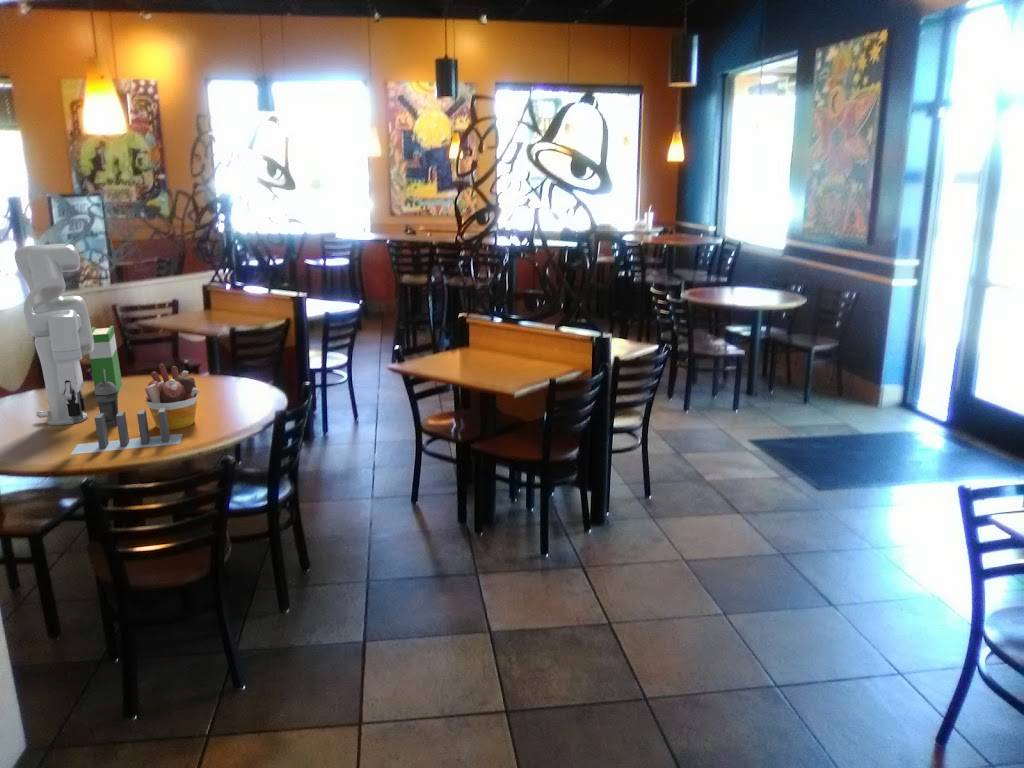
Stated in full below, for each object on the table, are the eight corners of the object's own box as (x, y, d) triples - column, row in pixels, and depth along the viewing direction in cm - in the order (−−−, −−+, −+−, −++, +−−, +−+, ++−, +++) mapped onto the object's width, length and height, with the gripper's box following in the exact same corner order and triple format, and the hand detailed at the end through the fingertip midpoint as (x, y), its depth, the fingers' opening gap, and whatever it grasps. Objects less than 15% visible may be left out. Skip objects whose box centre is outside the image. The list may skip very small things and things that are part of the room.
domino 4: (141, 444, 255) (137, 414, 252) (143, 439, 259) (139, 409, 257) (147, 444, 255) (143, 413, 252) (149, 439, 260) (145, 409, 257)
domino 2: (99, 449, 251) (94, 418, 249) (102, 444, 256) (97, 413, 253) (105, 448, 252) (100, 417, 249) (108, 443, 257) (104, 412, 254)
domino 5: (162, 442, 256) (157, 412, 254) (164, 437, 261) (159, 407, 258) (168, 442, 257) (164, 411, 254) (170, 437, 261) (166, 407, 259)
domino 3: (120, 447, 253) (115, 416, 250) (123, 441, 258) (118, 411, 255) (126, 446, 254) (122, 415, 251) (129, 441, 258) (124, 411, 256)
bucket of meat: (208, 428, 271) (201, 370, 266) (155, 438, 262) (147, 378, 257) (193, 414, 287) (186, 359, 282) (143, 422, 279) (135, 366, 273)
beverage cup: (116, 421, 281) (108, 364, 276) (127, 425, 276) (118, 367, 271) (95, 426, 276) (86, 369, 270) (105, 430, 271) (96, 372, 266)
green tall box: (101, 386, 327) (92, 327, 321) (122, 384, 329) (113, 325, 323) (96, 397, 311) (86, 335, 305) (117, 395, 313) (108, 333, 307)
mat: (70, 456, 247) (70, 454, 247) (77, 445, 257) (77, 444, 256) (179, 445, 255) (179, 443, 255) (183, 435, 265) (182, 433, 265)
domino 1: (73, 423, 247) (67, 391, 245) (77, 418, 252) (71, 387, 249) (79, 422, 248) (74, 390, 245) (83, 417, 252) (78, 386, 250)
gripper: (60, 350, 252) (70, 407, 256) (46, 362, 236) (56, 422, 240) (87, 348, 254) (96, 404, 258) (74, 360, 238) (84, 419, 242)
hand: (77, 412), depth 249 cm, fingers closed on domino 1, 4 cm apart
